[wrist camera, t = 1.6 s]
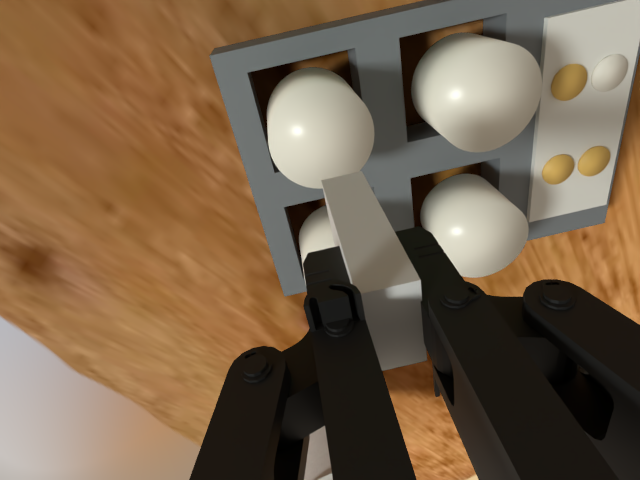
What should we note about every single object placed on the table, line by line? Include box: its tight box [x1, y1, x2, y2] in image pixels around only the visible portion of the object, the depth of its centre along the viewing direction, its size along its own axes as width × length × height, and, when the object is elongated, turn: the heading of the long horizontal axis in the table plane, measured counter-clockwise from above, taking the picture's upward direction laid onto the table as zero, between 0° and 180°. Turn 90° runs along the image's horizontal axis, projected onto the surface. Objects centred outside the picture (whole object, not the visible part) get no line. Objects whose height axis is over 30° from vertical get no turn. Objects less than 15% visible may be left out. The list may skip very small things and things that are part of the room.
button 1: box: [299, 205, 335, 284], centre depth 29 cm, size 6×6×4 cm
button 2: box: [267, 67, 375, 189], centre depth 24 cm, size 6×6×4 cm
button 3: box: [420, 174, 529, 278], centre depth 29 cm, size 6×6×4 cm
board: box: [210, 0, 640, 296], centre depth 29 cm, size 18×26×4 cm
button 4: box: [411, 33, 542, 152], centre depth 24 cm, size 6×6×4 cm
